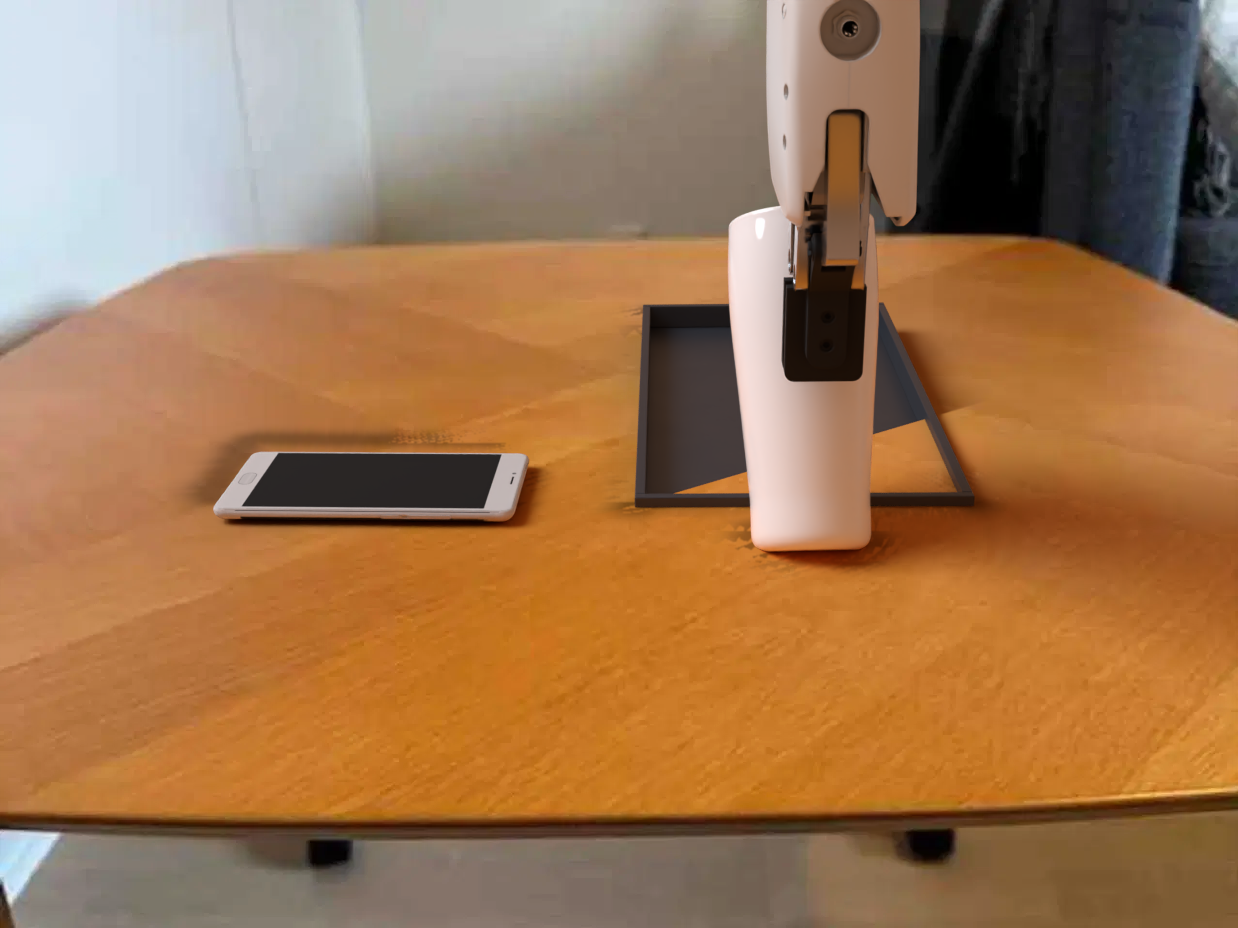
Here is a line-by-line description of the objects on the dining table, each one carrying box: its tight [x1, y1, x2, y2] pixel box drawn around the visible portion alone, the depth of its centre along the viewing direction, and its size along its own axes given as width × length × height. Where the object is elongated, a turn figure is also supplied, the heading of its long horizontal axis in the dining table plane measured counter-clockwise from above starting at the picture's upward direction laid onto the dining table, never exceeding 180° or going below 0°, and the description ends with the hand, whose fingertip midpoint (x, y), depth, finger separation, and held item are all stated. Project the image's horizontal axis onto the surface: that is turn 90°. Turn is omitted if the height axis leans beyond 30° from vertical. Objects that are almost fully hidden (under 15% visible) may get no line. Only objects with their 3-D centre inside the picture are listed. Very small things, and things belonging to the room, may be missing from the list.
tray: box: [634, 301, 975, 509], centre depth 84 cm, size 31×16×2 cm, turn 178°
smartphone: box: [212, 451, 530, 522], centre depth 75 cm, size 8×1×15 cm
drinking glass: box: [727, 205, 880, 553], centre depth 66 cm, size 7×7×15 cm
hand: (821, 374), depth 61 cm, fingers closed
